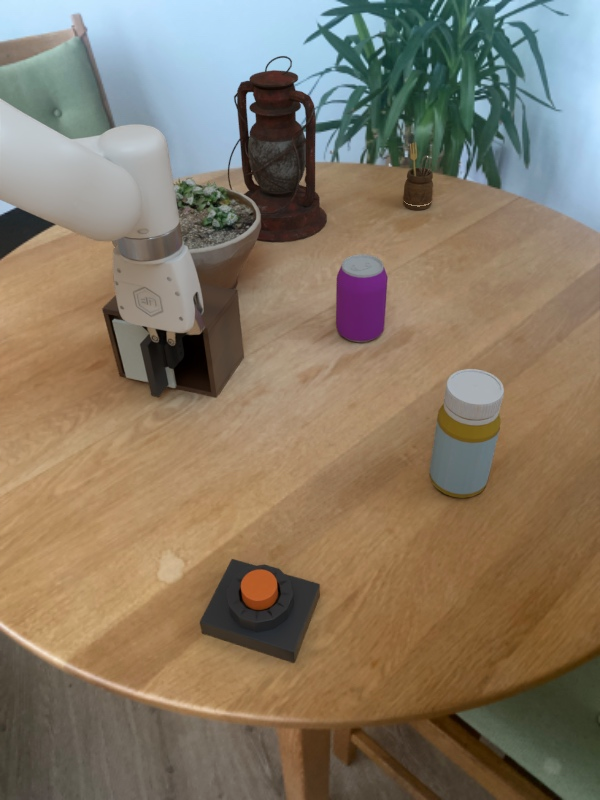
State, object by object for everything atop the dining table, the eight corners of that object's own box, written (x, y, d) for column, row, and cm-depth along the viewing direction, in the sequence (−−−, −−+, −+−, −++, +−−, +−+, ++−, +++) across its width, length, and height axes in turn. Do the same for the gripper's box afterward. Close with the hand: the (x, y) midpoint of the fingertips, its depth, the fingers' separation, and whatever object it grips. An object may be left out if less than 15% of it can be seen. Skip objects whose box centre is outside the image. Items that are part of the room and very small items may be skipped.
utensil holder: (414, 213, 139) (419, 155, 131) (396, 202, 143) (400, 145, 135) (437, 206, 141) (443, 149, 133) (419, 196, 145) (424, 139, 137)
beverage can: (372, 313, 111) (376, 248, 103) (391, 339, 106) (397, 272, 98) (329, 322, 110) (329, 256, 102) (345, 349, 104) (347, 281, 96)
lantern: (215, 227, 136) (196, 67, 117) (269, 193, 148) (260, 42, 128) (293, 251, 128) (287, 83, 108) (344, 212, 140) (347, 55, 120)
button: (236, 604, 67) (234, 594, 66) (250, 575, 69) (249, 565, 68) (270, 614, 66) (269, 605, 65) (283, 584, 68) (282, 574, 67)
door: (164, 401, 94) (153, 343, 88) (115, 390, 96) (100, 333, 90) (176, 386, 97) (166, 328, 90) (128, 375, 99) (114, 318, 92)
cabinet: (216, 397, 96) (207, 328, 88) (119, 376, 100) (101, 308, 93) (244, 357, 103) (237, 289, 95) (151, 338, 108) (138, 272, 100)
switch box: (201, 633, 68) (197, 612, 66) (233, 570, 74) (230, 548, 71) (294, 663, 66) (293, 642, 63) (320, 595, 71) (319, 573, 69)
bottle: (441, 452, 87) (456, 359, 77) (494, 471, 84) (516, 378, 74) (419, 487, 82) (432, 394, 73) (474, 509, 80) (496, 415, 70)
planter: (188, 237, 133) (177, 163, 123) (292, 272, 122) (289, 193, 112) (90, 296, 117) (69, 217, 108) (200, 342, 106) (187, 258, 97)
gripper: (76, 244, 78) (110, 368, 90) (192, 263, 74) (211, 390, 86) (111, 216, 84) (138, 336, 96) (220, 232, 80) (234, 356, 92)
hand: (173, 361), depth 91 cm, fingers closed
